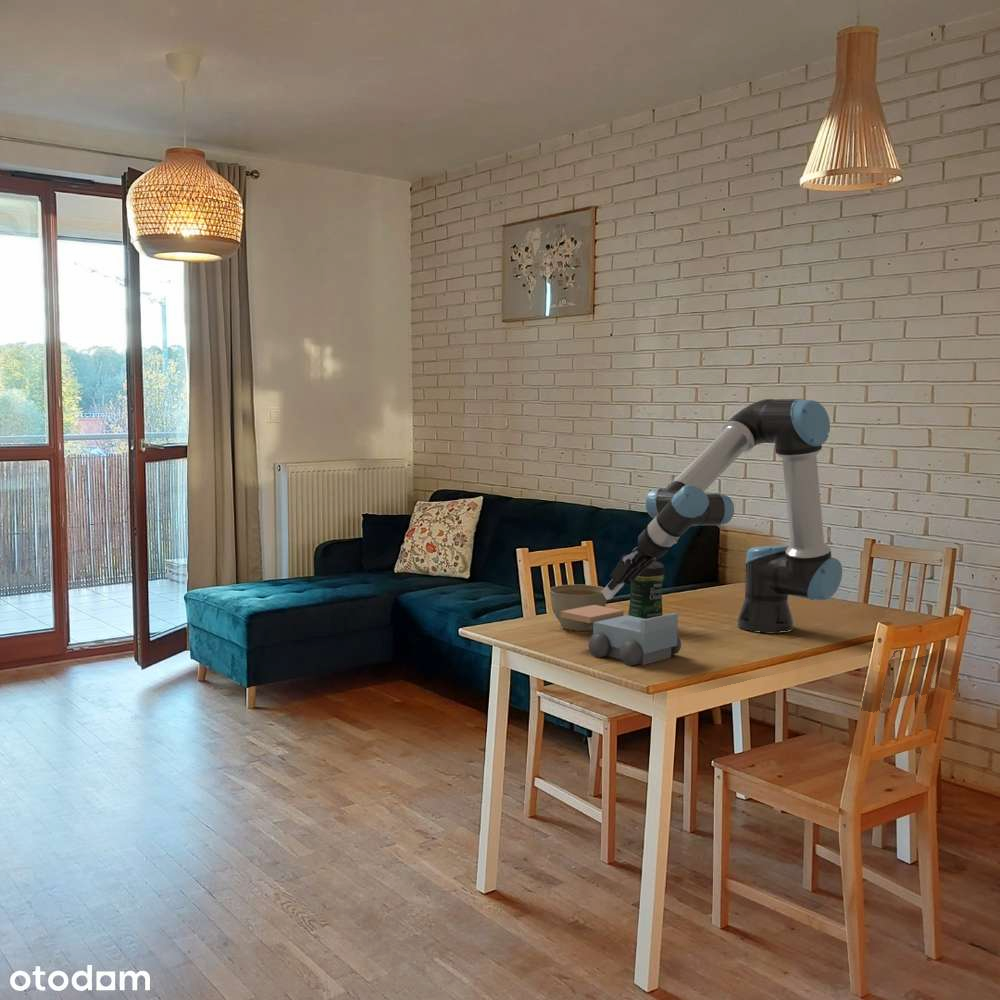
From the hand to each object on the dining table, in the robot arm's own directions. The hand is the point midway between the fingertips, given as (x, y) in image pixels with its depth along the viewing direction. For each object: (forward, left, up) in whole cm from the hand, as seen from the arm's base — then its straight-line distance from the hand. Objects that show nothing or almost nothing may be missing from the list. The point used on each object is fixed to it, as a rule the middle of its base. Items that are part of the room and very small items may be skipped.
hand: (606, 595), depth 256 cm
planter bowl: (+13, -20, -14) cm, 28 cm away
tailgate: (-1, 0, -5) cm, 5 cm away
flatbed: (-9, +4, -14) cm, 17 cm away
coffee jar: (-4, -29, -14) cm, 32 cm away
